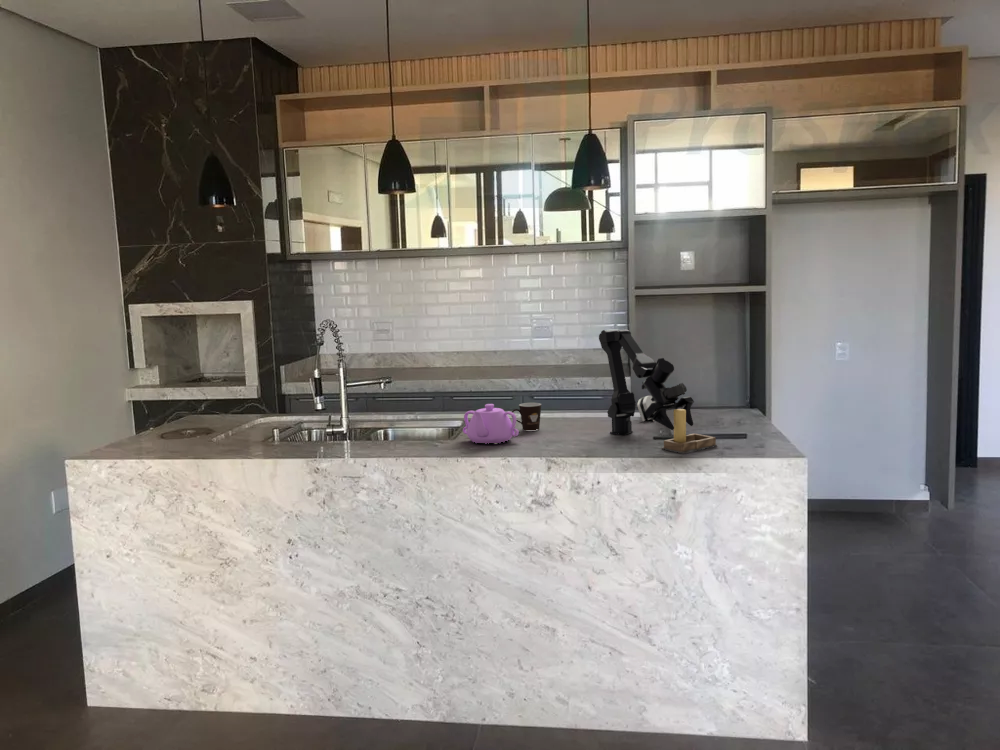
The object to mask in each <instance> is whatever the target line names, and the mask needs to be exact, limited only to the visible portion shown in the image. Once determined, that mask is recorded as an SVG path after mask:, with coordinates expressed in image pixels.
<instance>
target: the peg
mask: <svg viewBox="0 0 1000 750" xmlns="http://www.w3.org/2000/svg"><path fill="white" fill-rule="evenodd" d="M673 426H674V429H673V438H674V442H678V443H685V442H686V435H687V422H686V410H685V409H673Z"/></svg>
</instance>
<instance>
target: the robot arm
mask: <svg viewBox="0 0 1000 750" xmlns="http://www.w3.org/2000/svg"><path fill="white" fill-rule="evenodd" d="M598 341H599V343H600V346H601V349H602V350H603V351H604V353H606V355H607V360H608V361H607V362H608V365H609V370H610V377H611V382H612V386H613V393H612V396H611V398H610V400H611V405H610V407H609V408H608V409H607V417H608V418H611V431H609V434H612V435H621V436H626V435H628V434H632V433H633V432H634V431H633V430H632V429H633V428H632V427H633V425H632V420H631V417H634V416H635V412H636V407H637V404H636V402H637V401H636V398H635V393H634V392H633V391H630V390H629V389H628V385H627V380H626V375H625V369H624V364H623V359H622V354H621V350H622V349H623V350H624V352H625V353H626V355H627V356H628V357H629V360H631V362H632V369H633V371H634V374H635V377H636V378H638V379H645V380H644V381H642V385H641V390H647V392H648V393H649V394H650V396H652V399H651V400H652V402H653V401H655V403H651V405H650V406H649V407H648V408H647V409H646V411H645V415H646V417H647V418H648V419H649V420H651V421H653V420H654V421H655V422H656V423H659V424H661V425H662V426H664V427H666V428H668V429H670V430H671V431H674V423H673V422H672V421H671V419H670V417H669V416H668V414H667V412H668V411H672V410H675V409H685V410H686V424H687V425H689V426H690V427H693V425H694V420H693V417H692V413H691V408H692V407H693V404H694V403H695V401H694V398H693V397H692V396H684V395H686V392H687V390H688V389H687V386H686V385H685V384H684V383H683V382H681V383H678V384H676V385H674V386H671V387H667V386H666V385H665V384H666V382H667V381H668V380H669V378H670V377H671V375H672V374H673V372H674V371H675V367H674V366H675V365H673V363H671V361H668V360H666V359H665V358H664V357H659V358H658V359H657V360H656V361H655V360H654V359H653V358H652V357H651V356H648V355H646V354H645V353H644V352H643V350H642V348H640V346H639V344H638V343H637V342H636V341H635V339H634V338H633V336H632V333H631V331H630V330H628V329H617V328H615V329H603V330H601V331H600V333H599V334H598ZM682 395H683V396H684V397H681V396H682ZM679 397H681V398H680V399H679ZM676 401H678V402H676ZM648 419H647V420H648Z"/></svg>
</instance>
